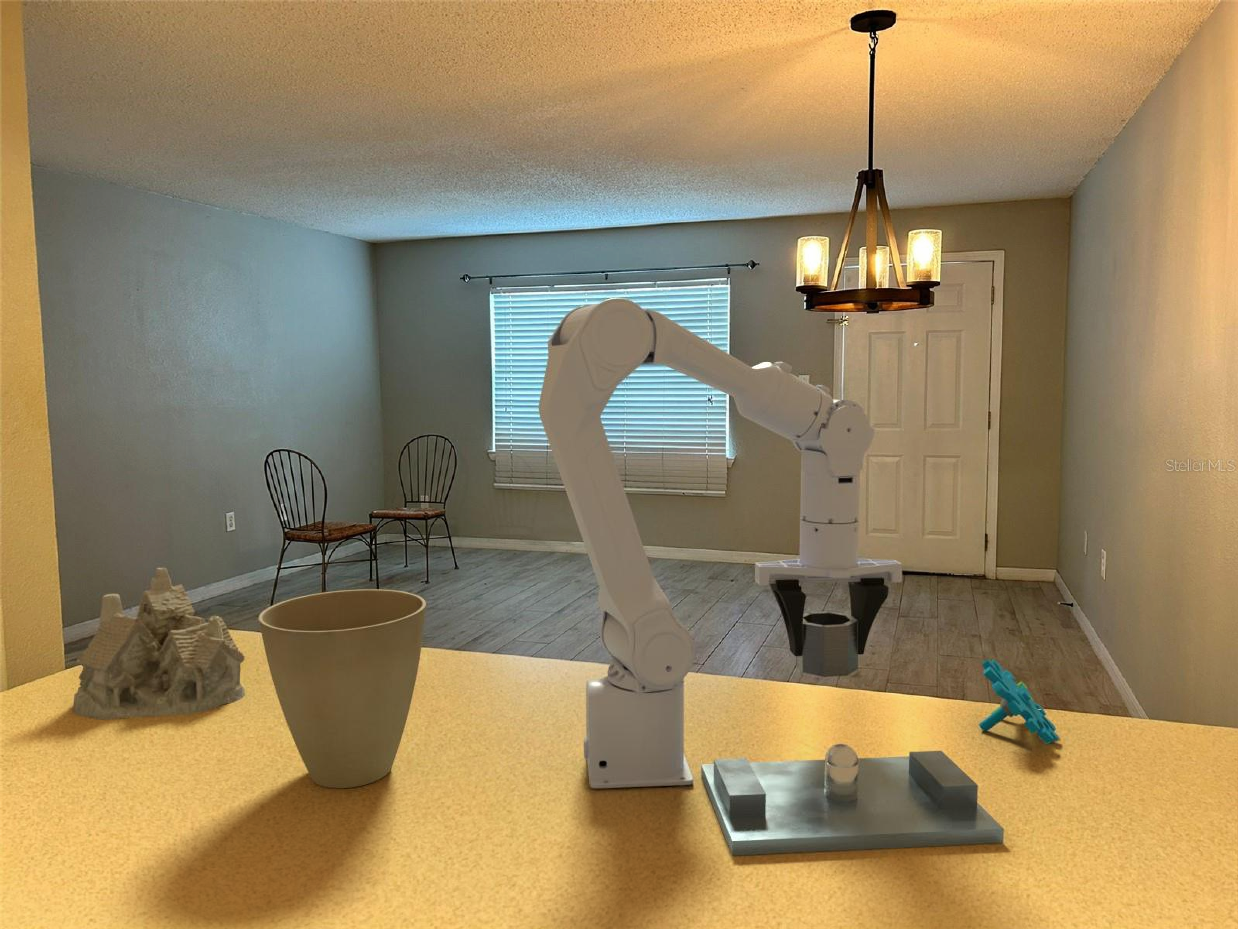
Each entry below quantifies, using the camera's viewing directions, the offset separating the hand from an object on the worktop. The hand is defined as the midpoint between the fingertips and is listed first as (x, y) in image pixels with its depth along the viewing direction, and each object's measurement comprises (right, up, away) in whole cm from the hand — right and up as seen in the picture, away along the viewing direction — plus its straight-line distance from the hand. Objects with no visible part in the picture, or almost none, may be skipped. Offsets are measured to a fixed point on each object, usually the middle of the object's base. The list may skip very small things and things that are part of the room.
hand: (826, 652), depth 92 cm
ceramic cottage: (-74, -9, +14) cm, 76 cm away
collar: (0, -2, 0) cm, 2 cm away
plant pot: (-47, -10, -6) cm, 48 cm away
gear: (+21, -9, +3) cm, 23 cm away
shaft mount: (-2, -11, -13) cm, 17 cm away
